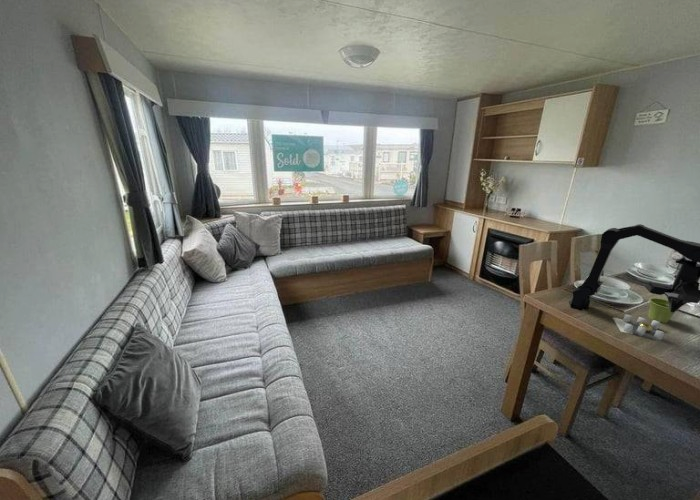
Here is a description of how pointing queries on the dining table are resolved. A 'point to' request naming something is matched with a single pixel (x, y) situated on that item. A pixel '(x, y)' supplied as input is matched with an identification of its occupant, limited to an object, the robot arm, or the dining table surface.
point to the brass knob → (645, 325)
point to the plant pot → (660, 310)
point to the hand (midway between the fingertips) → (671, 311)
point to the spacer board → (631, 327)
